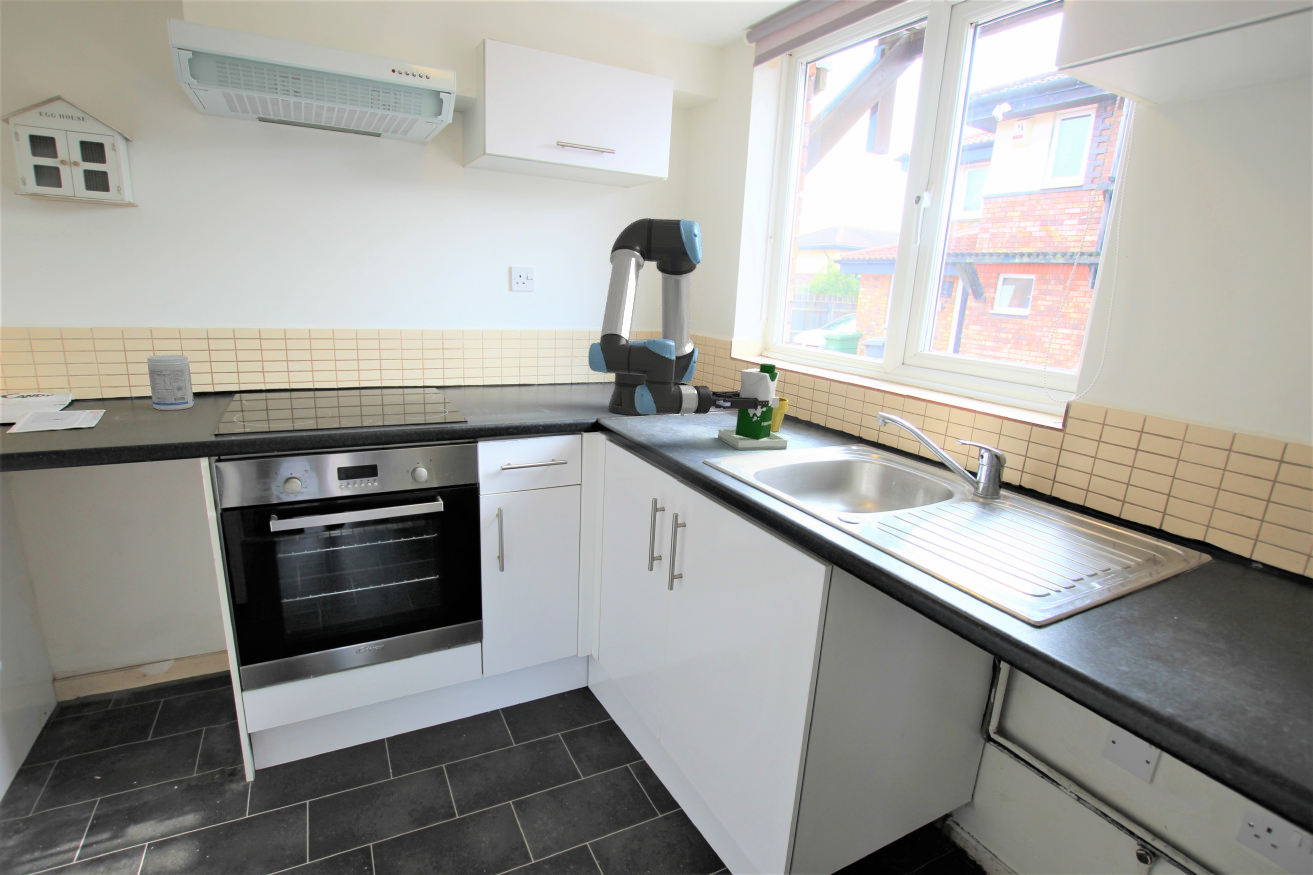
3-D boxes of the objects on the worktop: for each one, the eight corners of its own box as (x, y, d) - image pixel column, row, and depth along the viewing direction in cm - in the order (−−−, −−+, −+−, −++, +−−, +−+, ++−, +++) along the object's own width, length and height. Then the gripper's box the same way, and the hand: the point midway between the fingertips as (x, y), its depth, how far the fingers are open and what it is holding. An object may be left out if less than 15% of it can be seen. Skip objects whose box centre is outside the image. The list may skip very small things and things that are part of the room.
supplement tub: (165, 404, 191) (159, 354, 188) (200, 404, 193) (195, 355, 190) (145, 410, 182) (138, 358, 179) (183, 411, 184) (177, 359, 180)
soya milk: (759, 441, 174) (768, 367, 169) (730, 434, 179) (738, 362, 174) (774, 436, 181) (783, 364, 176) (745, 430, 186) (753, 360, 181)
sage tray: (718, 437, 185) (718, 429, 185) (763, 436, 189) (764, 428, 189) (738, 450, 172) (739, 441, 172) (786, 448, 176) (787, 439, 176)
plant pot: (785, 435, 193) (788, 402, 191) (750, 431, 195) (752, 399, 193) (785, 428, 203) (788, 397, 201) (752, 425, 205) (754, 394, 203)
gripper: (680, 406, 183) (755, 406, 189) (705, 421, 164) (787, 420, 171) (682, 380, 181) (757, 380, 188) (707, 392, 163) (790, 392, 169)
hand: (771, 399), depth 179 cm, fingers closed on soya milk, 7 cm apart
